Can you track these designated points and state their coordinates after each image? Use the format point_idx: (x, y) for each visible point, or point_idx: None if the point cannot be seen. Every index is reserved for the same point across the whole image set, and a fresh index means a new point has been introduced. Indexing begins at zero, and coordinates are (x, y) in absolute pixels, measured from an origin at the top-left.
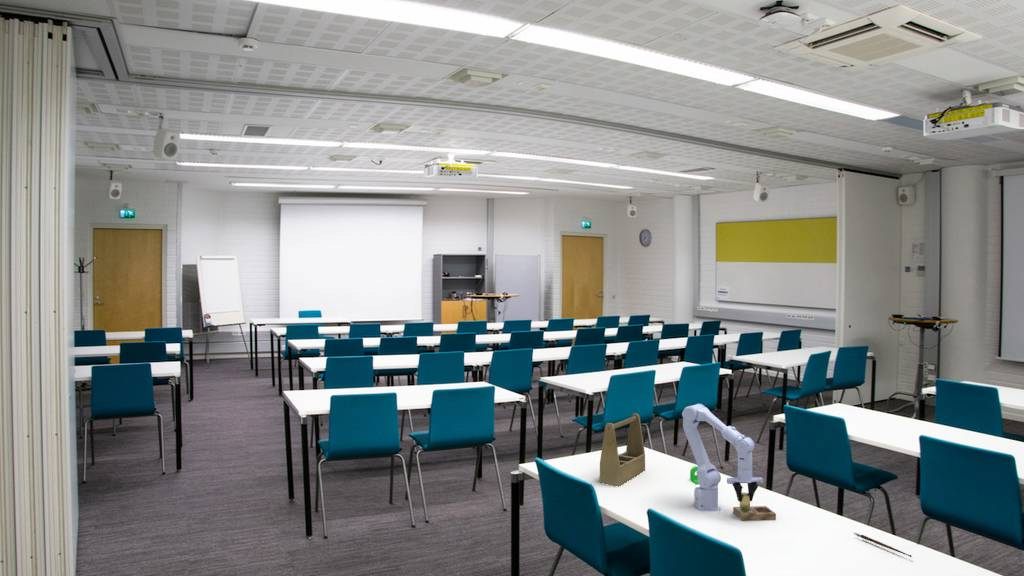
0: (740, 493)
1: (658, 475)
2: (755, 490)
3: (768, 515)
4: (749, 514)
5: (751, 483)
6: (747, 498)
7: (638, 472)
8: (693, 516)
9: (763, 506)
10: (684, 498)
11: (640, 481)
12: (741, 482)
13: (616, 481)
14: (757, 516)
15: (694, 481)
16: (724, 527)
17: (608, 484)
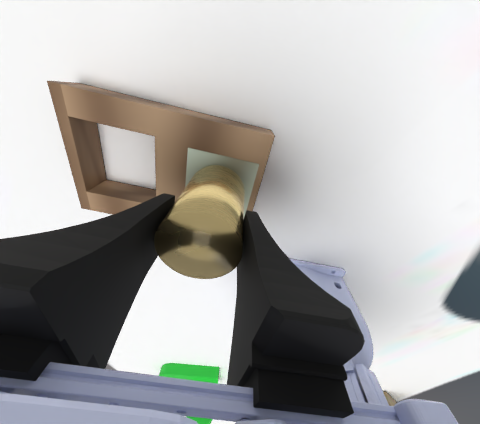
0: (265, 246)
1: None
2: (67, 228)
3: (107, 94)
4: (229, 125)
5: (42, 351)
6: (203, 199)
7: None
8: (422, 237)
9: (94, 207)
10: None
11: None
12: (219, 403)
13: None
14: (181, 110)
15: (216, 381)
16: (454, 59)
17: (394, 402)
